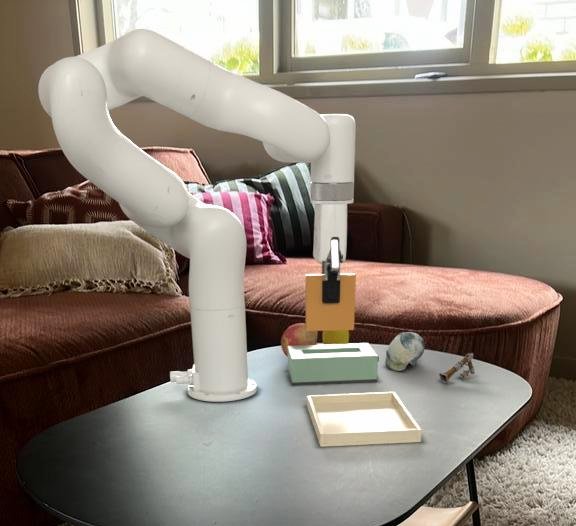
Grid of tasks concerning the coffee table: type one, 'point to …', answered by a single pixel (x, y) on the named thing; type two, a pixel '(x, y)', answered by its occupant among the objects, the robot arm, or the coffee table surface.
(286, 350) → the fruit
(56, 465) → the coffee table surface
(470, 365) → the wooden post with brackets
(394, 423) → the tray
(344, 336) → the lemon
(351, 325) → the toast
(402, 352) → the seashell
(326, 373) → the toaster
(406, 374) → the coffee table surface
